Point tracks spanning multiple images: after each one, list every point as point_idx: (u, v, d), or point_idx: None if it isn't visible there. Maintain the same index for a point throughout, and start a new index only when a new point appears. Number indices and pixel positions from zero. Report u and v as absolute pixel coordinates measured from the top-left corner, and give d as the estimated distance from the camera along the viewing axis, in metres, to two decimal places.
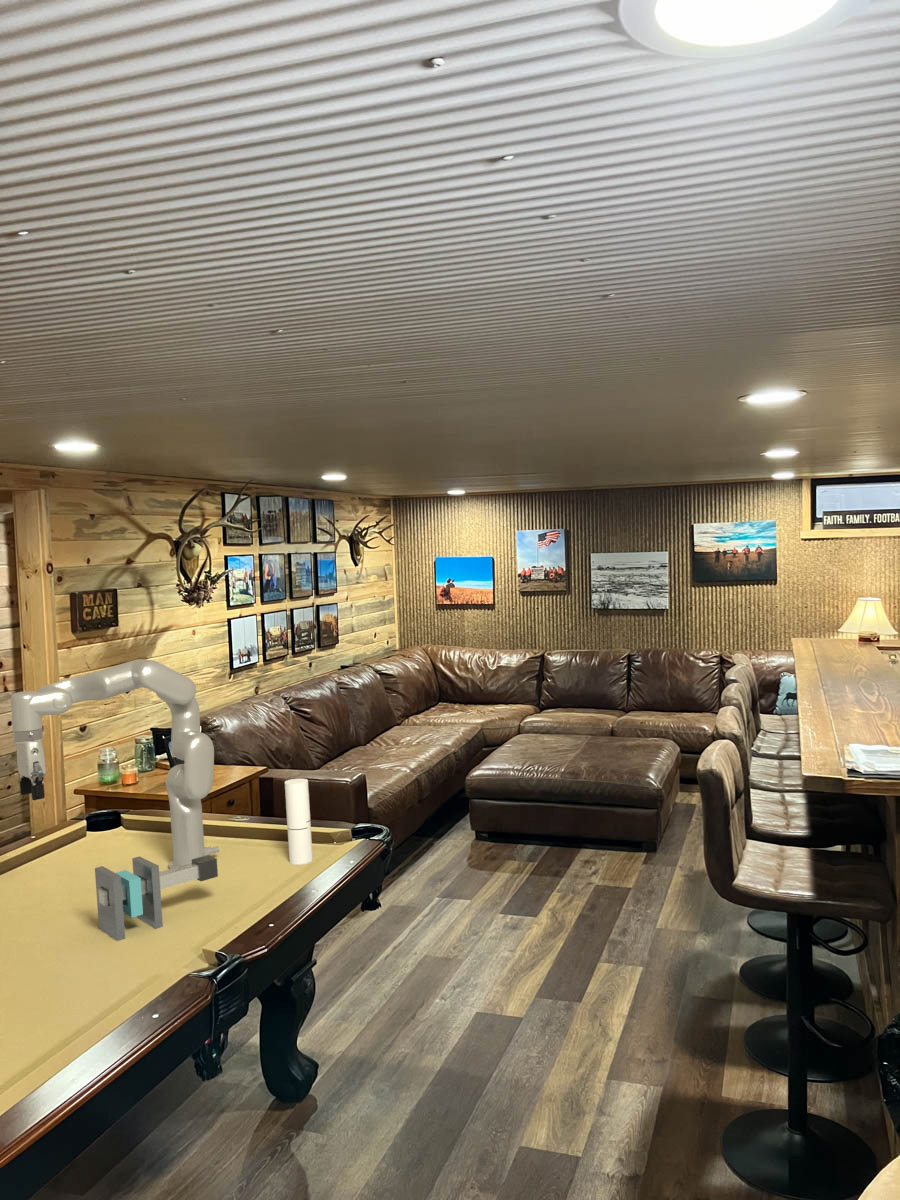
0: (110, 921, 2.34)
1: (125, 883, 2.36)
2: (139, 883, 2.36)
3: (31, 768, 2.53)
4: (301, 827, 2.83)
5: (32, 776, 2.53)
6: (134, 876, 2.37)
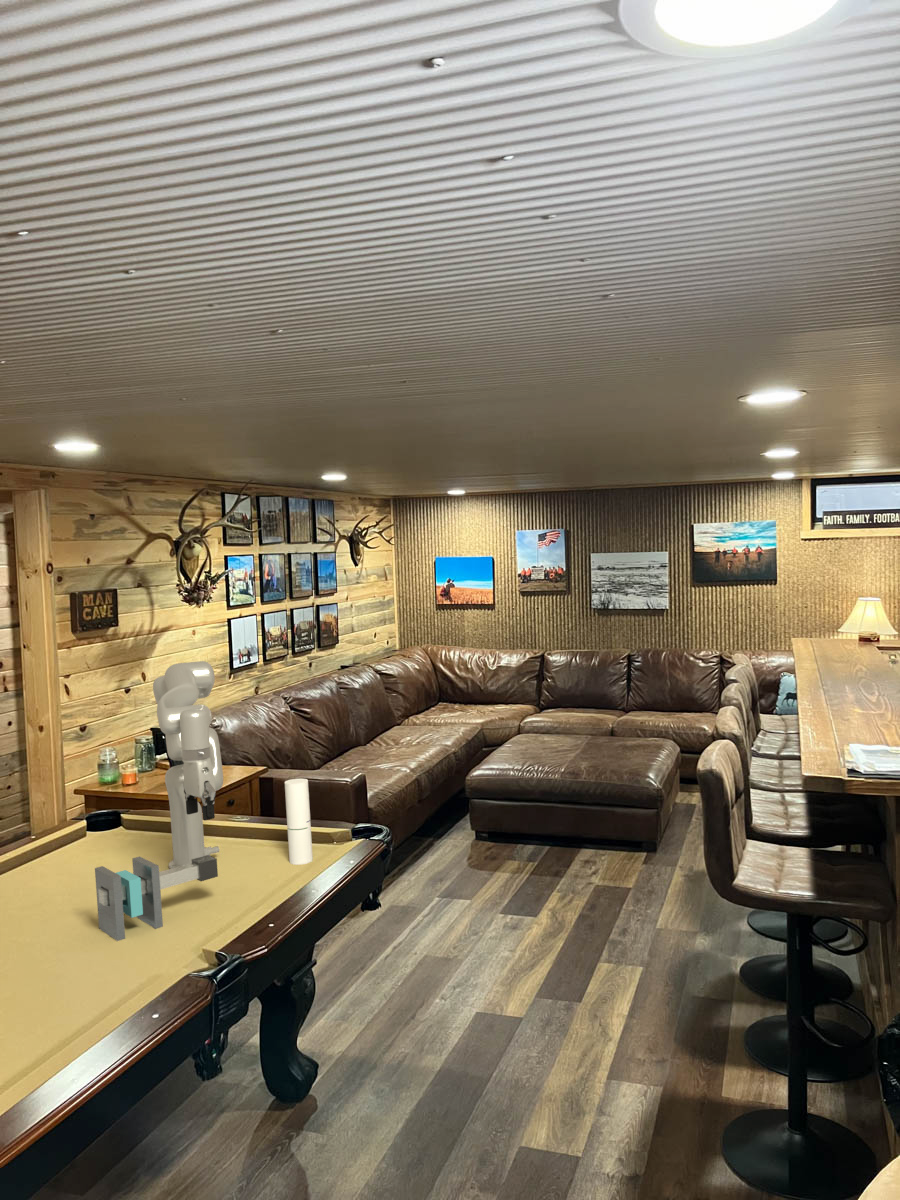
0: (110, 921, 2.34)
1: (125, 883, 2.36)
2: (139, 883, 2.36)
3: (202, 788, 2.48)
4: (301, 827, 2.83)
5: (203, 796, 2.48)
6: (134, 876, 2.37)
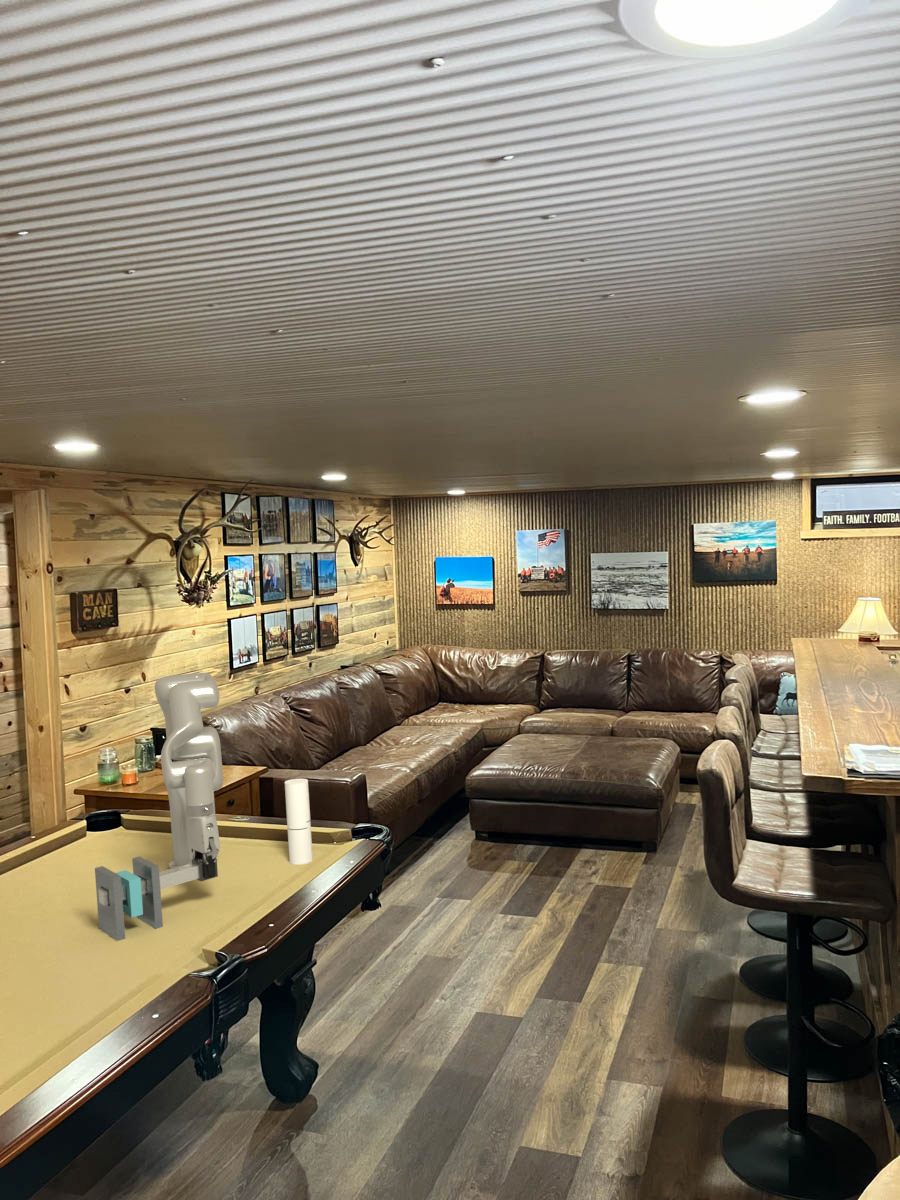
0: (110, 921, 2.34)
1: (125, 883, 2.36)
2: (139, 883, 2.36)
3: (207, 844, 2.48)
4: (301, 827, 2.83)
5: (206, 854, 2.50)
6: (134, 876, 2.37)
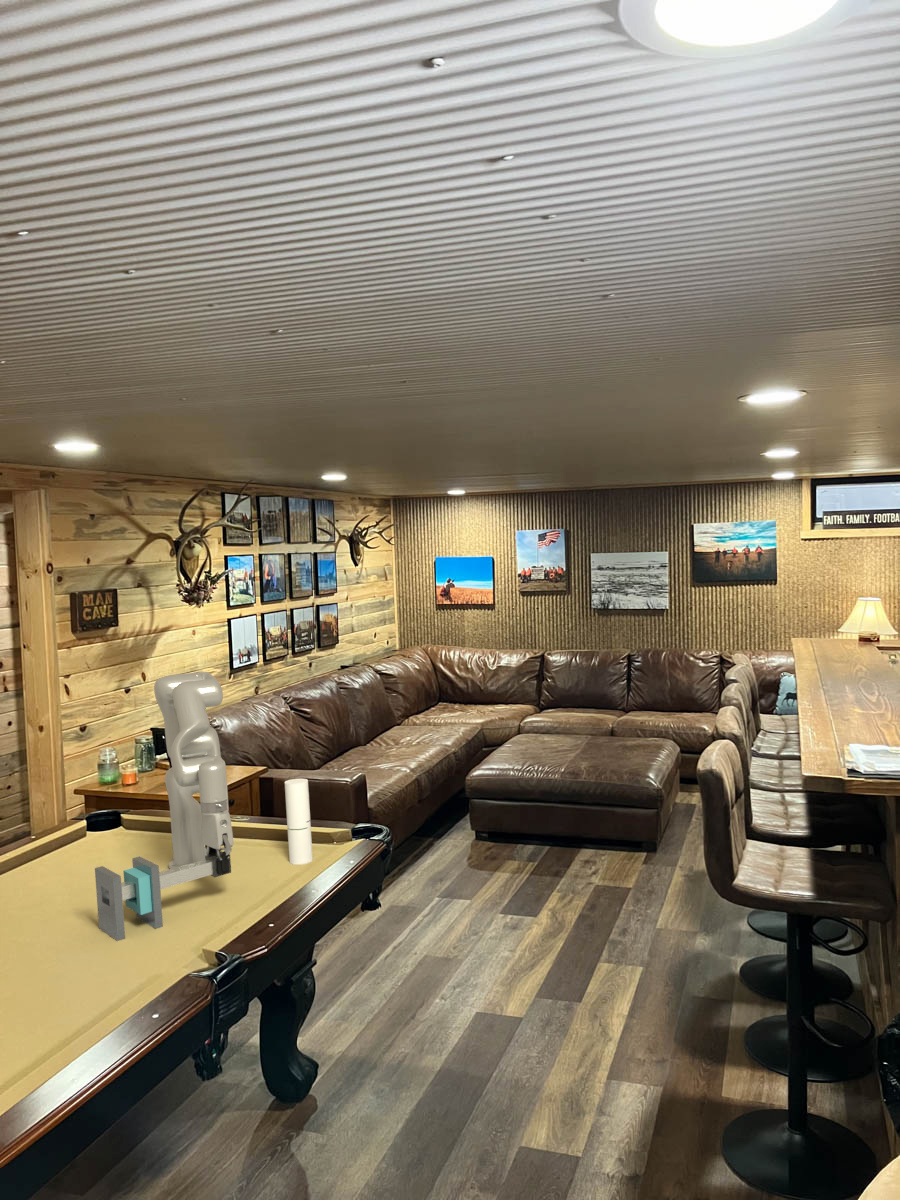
0: (110, 921, 2.34)
1: (134, 880, 2.38)
2: (148, 880, 2.38)
3: (220, 840, 2.51)
4: (301, 827, 2.83)
5: (219, 850, 2.52)
6: (143, 874, 2.39)
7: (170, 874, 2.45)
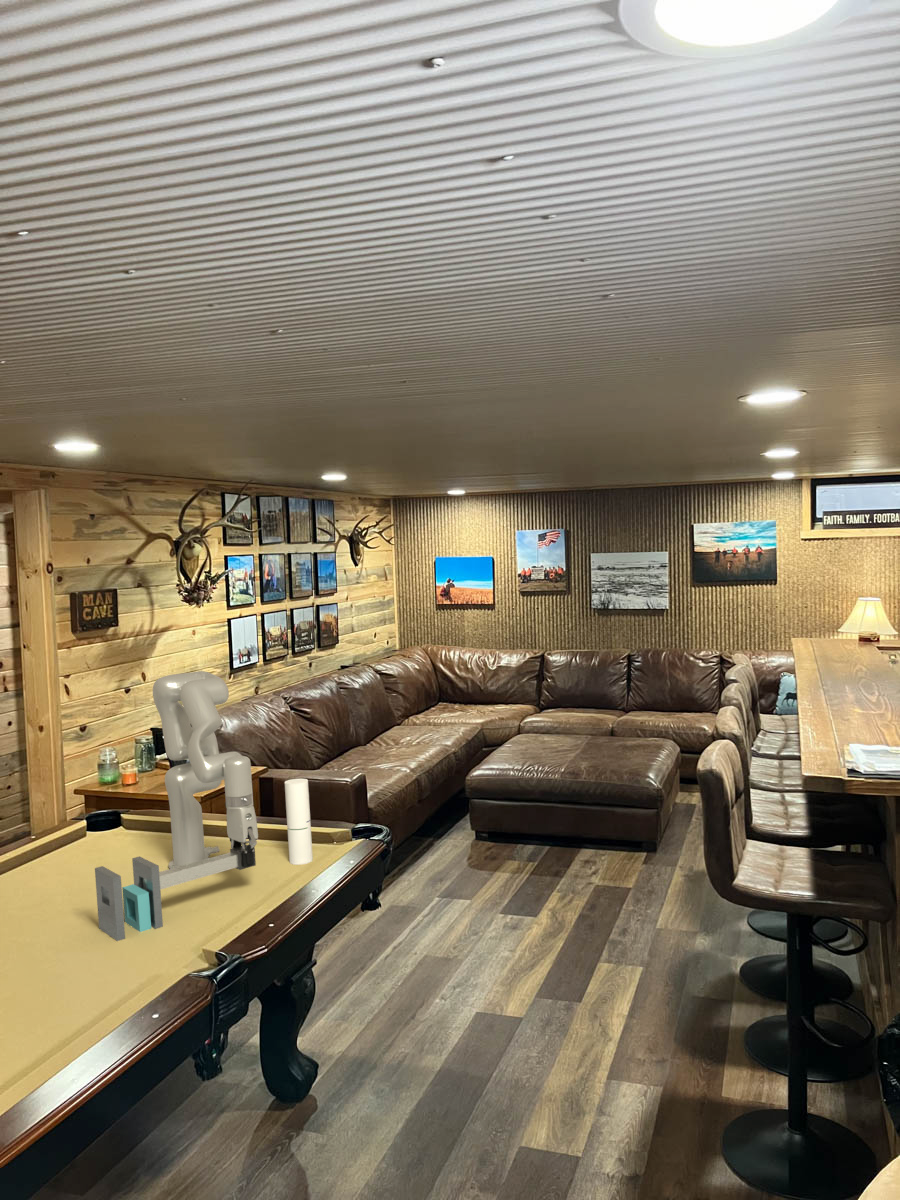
0: (110, 921, 2.34)
1: (133, 897, 2.38)
2: (147, 897, 2.38)
3: (246, 833, 2.56)
4: (301, 827, 2.83)
5: (244, 843, 2.58)
6: (142, 891, 2.39)
7: (197, 866, 2.50)
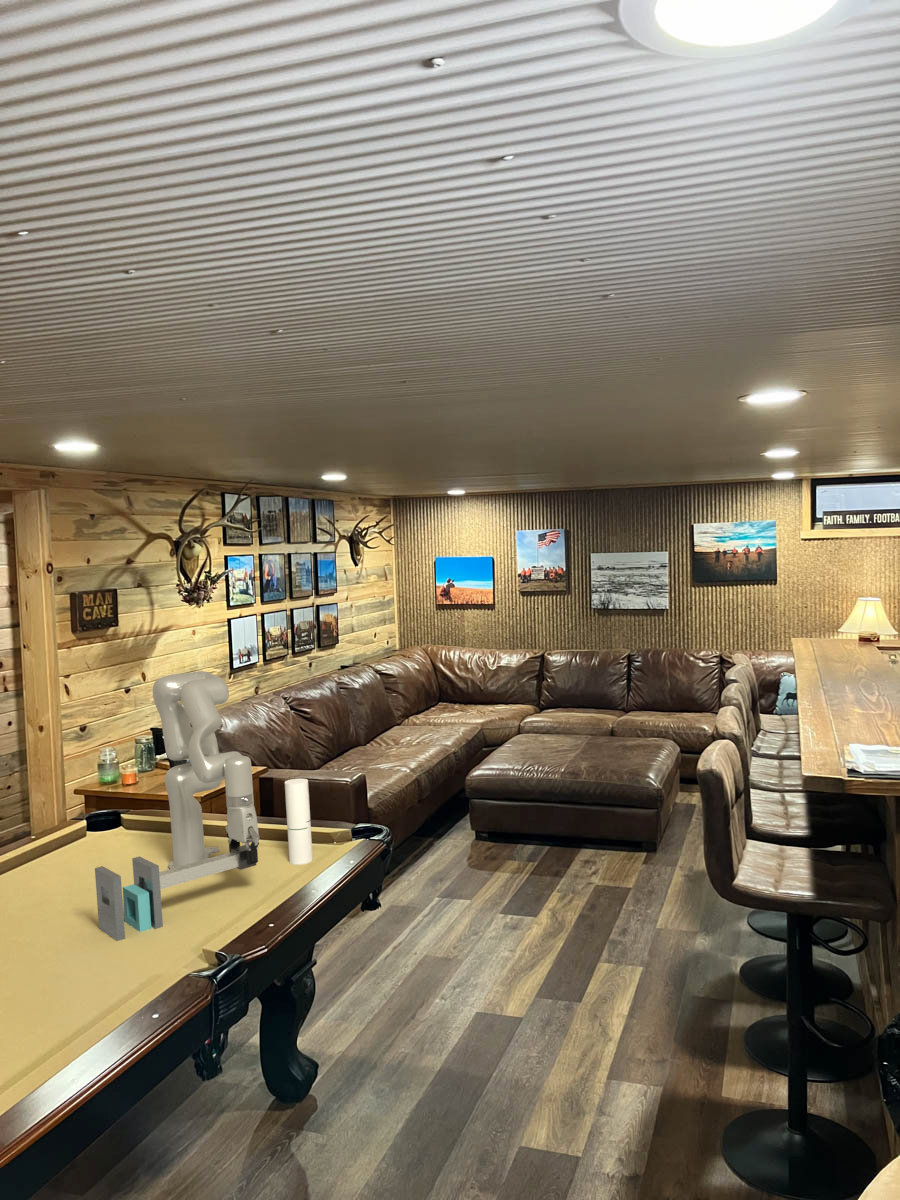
0: (110, 921, 2.34)
1: (133, 897, 2.38)
2: (147, 897, 2.38)
3: (246, 833, 2.56)
4: (301, 827, 2.83)
5: (247, 841, 2.57)
6: (142, 891, 2.39)
7: (198, 866, 2.50)
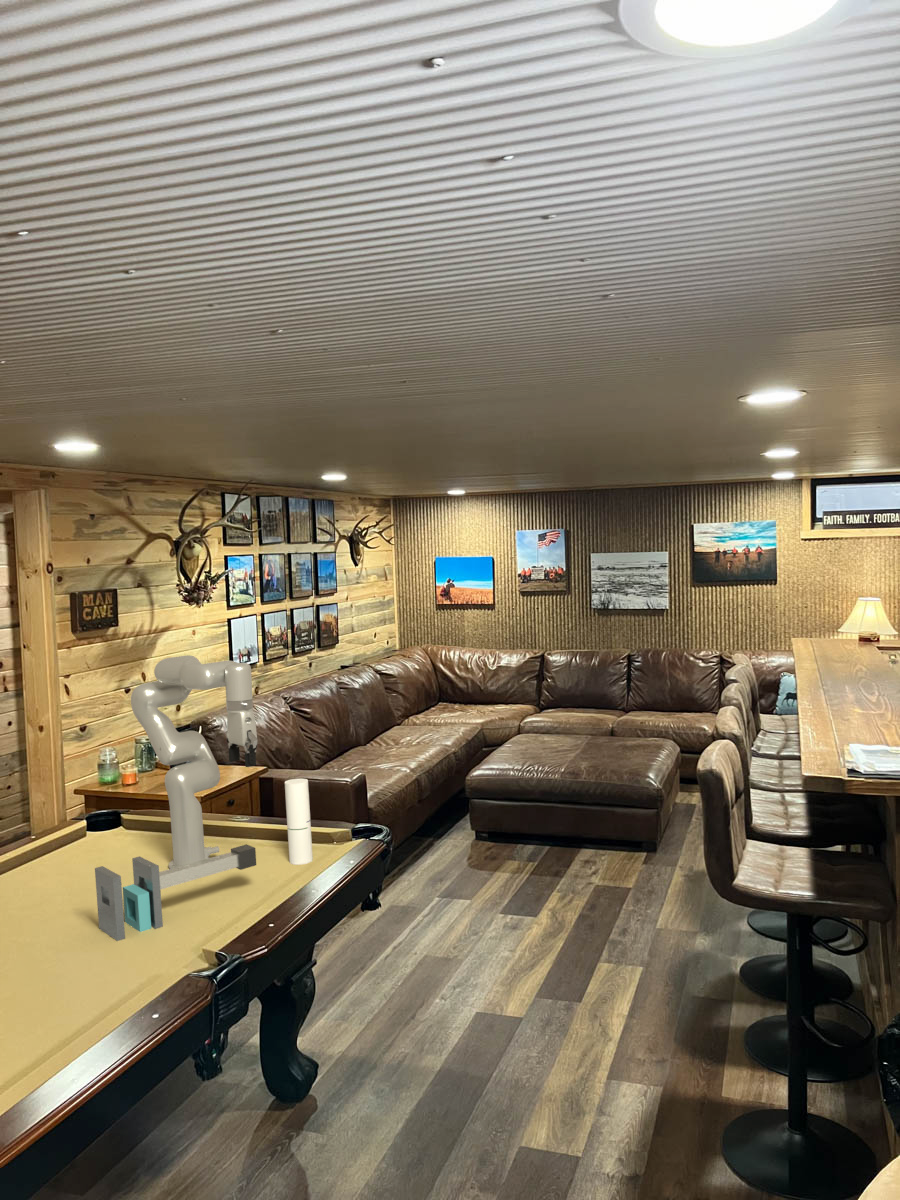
0: (110, 921, 2.34)
1: (133, 897, 2.38)
2: (147, 897, 2.38)
3: (245, 736, 2.64)
4: (301, 827, 2.83)
5: (245, 744, 2.65)
6: (142, 891, 2.39)
7: (198, 866, 2.50)
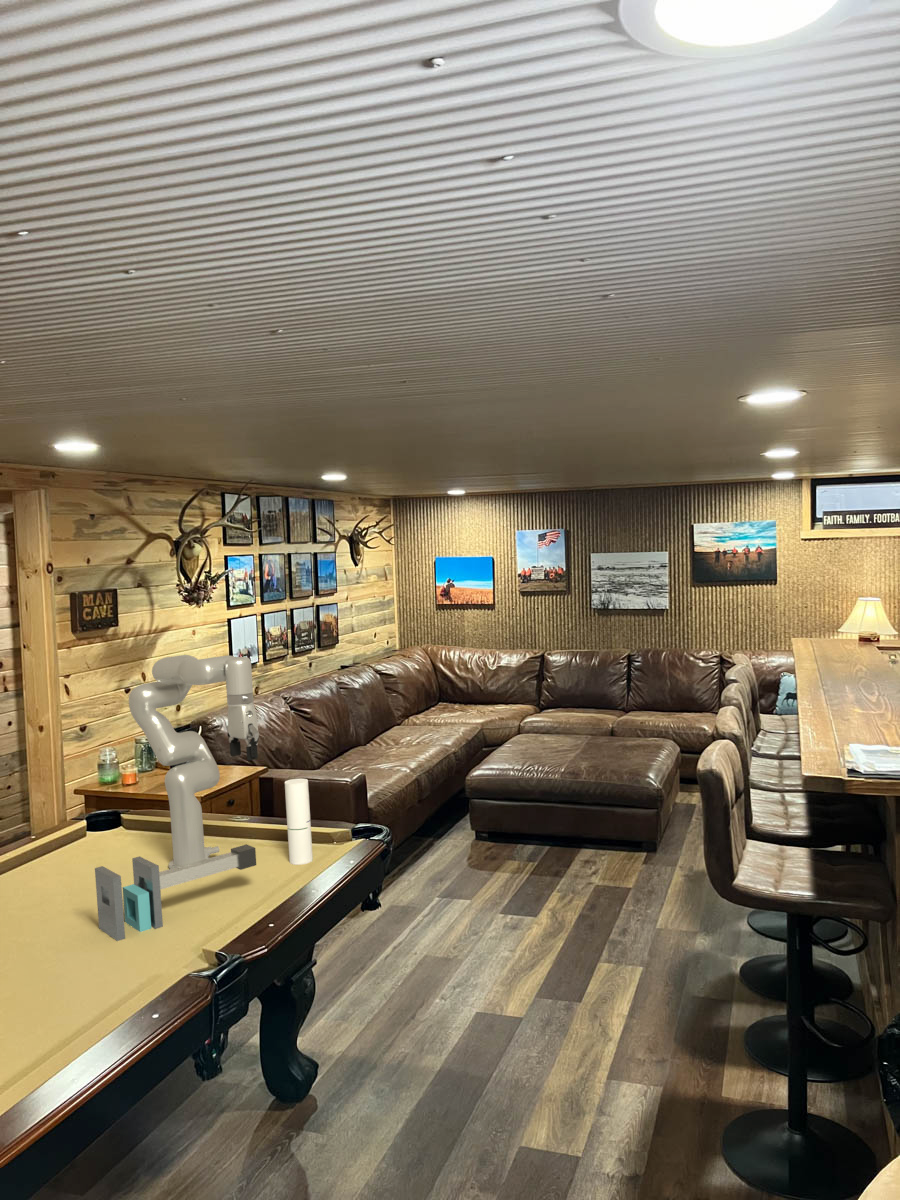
0: (110, 921, 2.34)
1: (133, 897, 2.38)
2: (147, 897, 2.38)
3: (246, 730, 2.66)
4: (301, 827, 2.83)
5: (247, 737, 2.66)
6: (142, 891, 2.39)
7: (198, 866, 2.50)
